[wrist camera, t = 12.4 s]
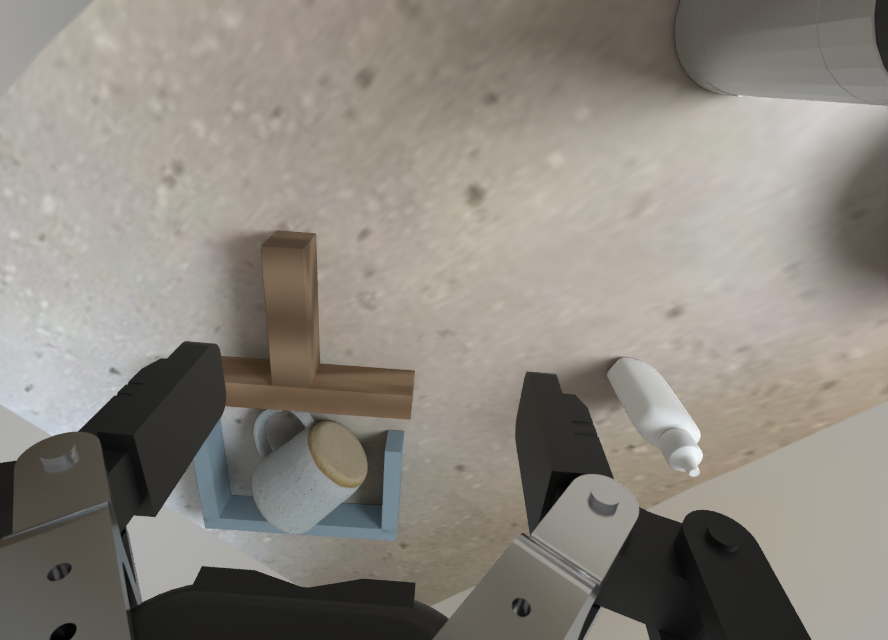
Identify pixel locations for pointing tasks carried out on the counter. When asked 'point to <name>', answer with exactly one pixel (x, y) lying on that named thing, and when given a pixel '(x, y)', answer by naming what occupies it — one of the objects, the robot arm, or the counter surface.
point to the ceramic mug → (306, 472)
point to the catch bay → (340, 522)
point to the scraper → (307, 349)
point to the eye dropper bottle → (657, 413)
